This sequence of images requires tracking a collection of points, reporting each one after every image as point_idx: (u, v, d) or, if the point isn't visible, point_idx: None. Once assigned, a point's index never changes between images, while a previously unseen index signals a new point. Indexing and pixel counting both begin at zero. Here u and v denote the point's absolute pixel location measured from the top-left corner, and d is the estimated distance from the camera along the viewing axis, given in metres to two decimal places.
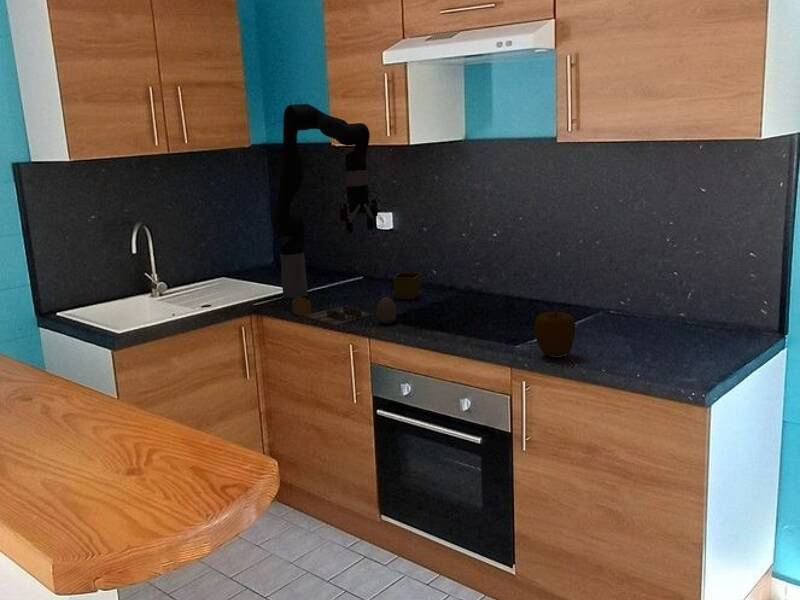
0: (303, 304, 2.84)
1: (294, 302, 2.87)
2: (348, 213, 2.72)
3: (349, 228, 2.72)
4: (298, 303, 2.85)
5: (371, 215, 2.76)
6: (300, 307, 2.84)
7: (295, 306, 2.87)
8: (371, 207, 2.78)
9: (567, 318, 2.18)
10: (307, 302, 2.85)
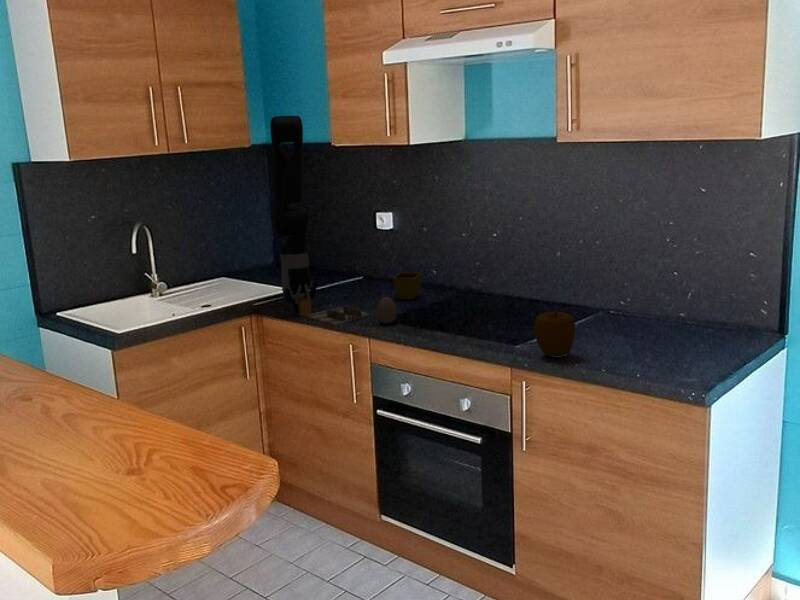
0: (303, 304, 2.84)
1: None
2: (292, 295, 2.85)
3: (295, 309, 2.85)
4: (298, 303, 2.85)
5: (308, 297, 2.87)
6: (300, 307, 2.84)
7: None
8: (310, 289, 2.89)
9: (567, 318, 2.18)
10: (307, 302, 2.85)
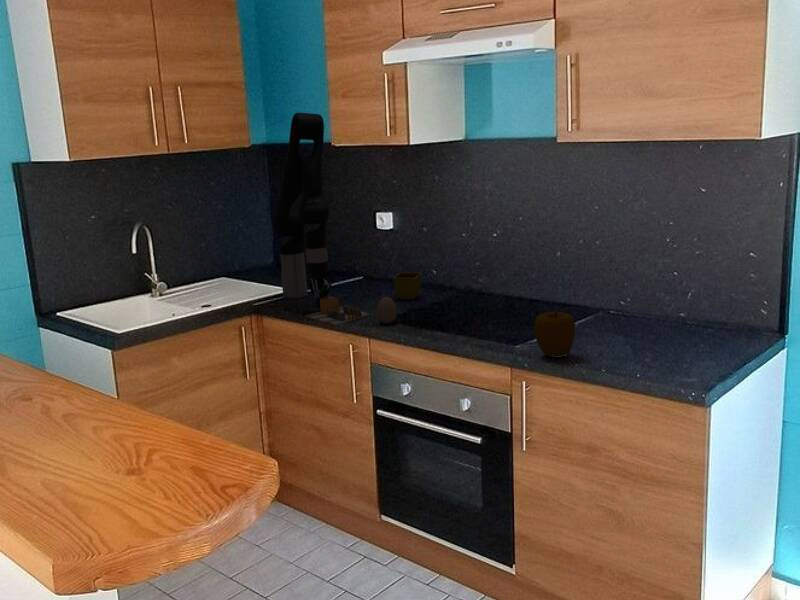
0: (331, 303, 2.81)
1: (322, 301, 2.84)
2: None
3: (317, 302, 2.89)
4: (326, 302, 2.82)
5: (318, 294, 2.86)
6: (328, 306, 2.81)
7: (323, 305, 2.83)
8: None
9: (567, 318, 2.18)
10: (335, 301, 2.82)
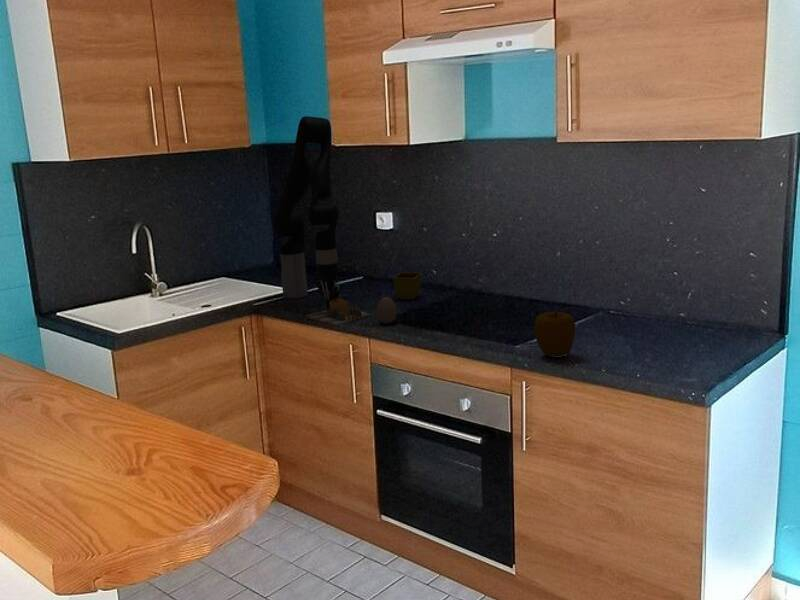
0: (341, 305, 2.76)
1: (331, 303, 2.79)
2: None
3: None
4: (336, 304, 2.77)
5: (328, 296, 2.81)
6: (338, 308, 2.76)
7: (332, 307, 2.79)
8: None
9: (567, 318, 2.18)
10: (345, 303, 2.77)
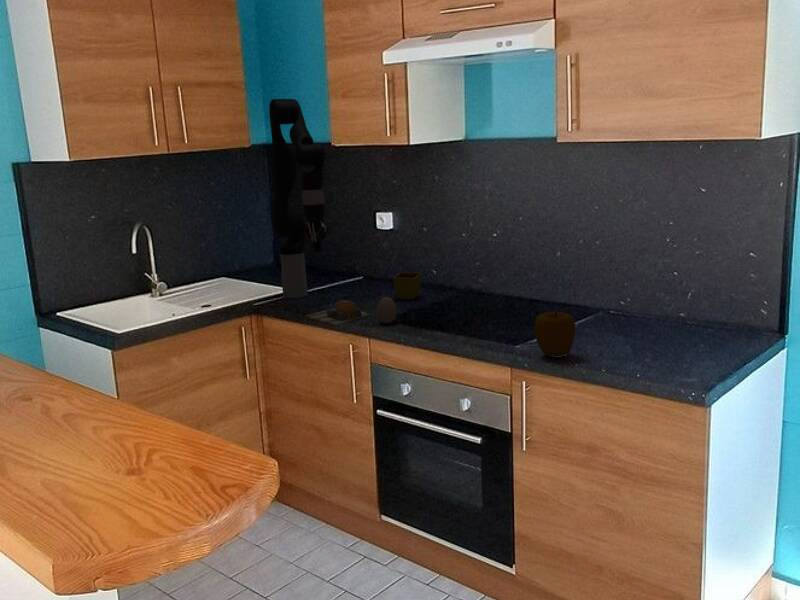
0: (348, 307, 2.74)
1: (338, 305, 2.76)
2: None
3: (314, 246, 2.84)
4: (342, 306, 2.74)
5: (315, 238, 2.81)
6: (345, 310, 2.74)
7: (339, 309, 2.76)
8: None
9: (567, 318, 2.19)
10: (352, 305, 2.75)
